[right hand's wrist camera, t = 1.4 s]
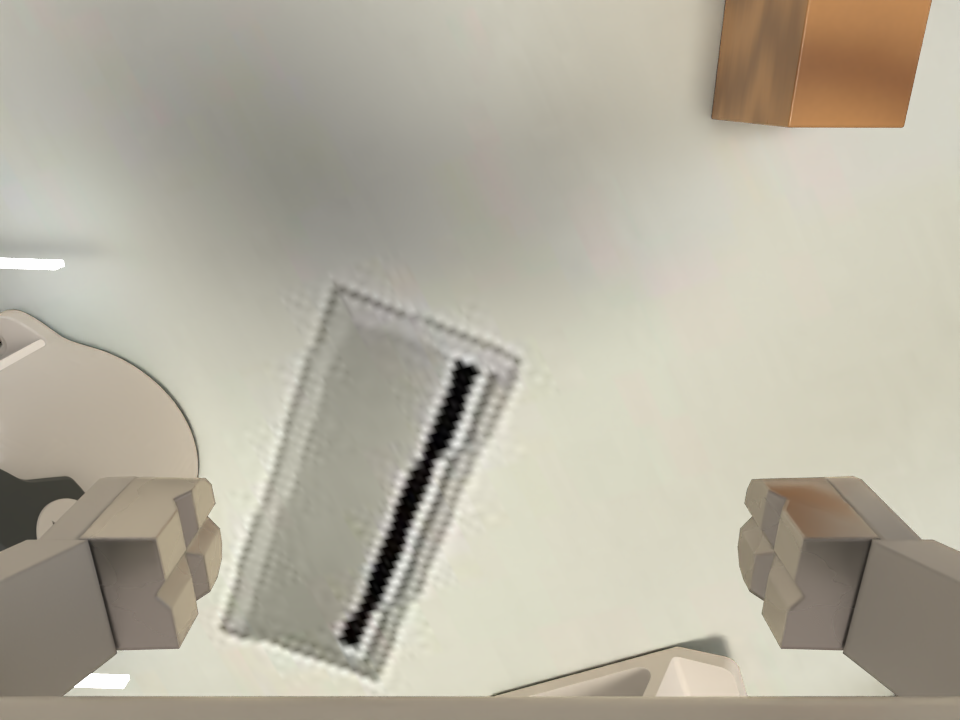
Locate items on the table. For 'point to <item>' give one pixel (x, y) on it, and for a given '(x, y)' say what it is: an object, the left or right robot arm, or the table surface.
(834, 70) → the bar
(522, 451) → the table surface
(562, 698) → the right robot arm
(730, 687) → the tablet stand
